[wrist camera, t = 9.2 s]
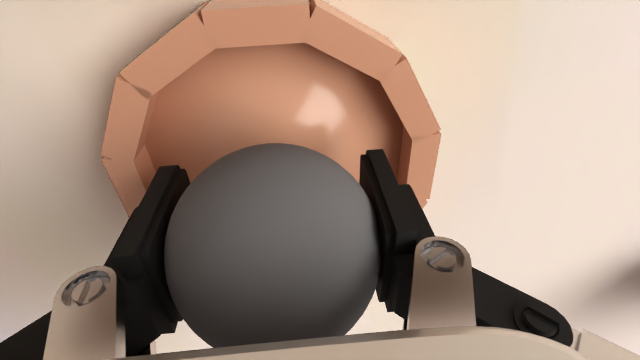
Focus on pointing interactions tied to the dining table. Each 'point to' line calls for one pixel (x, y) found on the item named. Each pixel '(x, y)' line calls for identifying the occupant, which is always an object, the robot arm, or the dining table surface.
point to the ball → (272, 248)
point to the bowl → (267, 95)
